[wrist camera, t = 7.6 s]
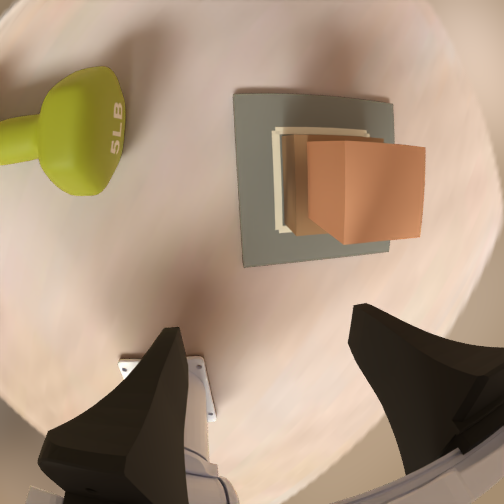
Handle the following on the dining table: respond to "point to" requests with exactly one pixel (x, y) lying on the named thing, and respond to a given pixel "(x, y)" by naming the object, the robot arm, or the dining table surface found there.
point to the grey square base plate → (271, 168)
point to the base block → (303, 180)
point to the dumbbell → (72, 132)
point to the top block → (366, 190)
